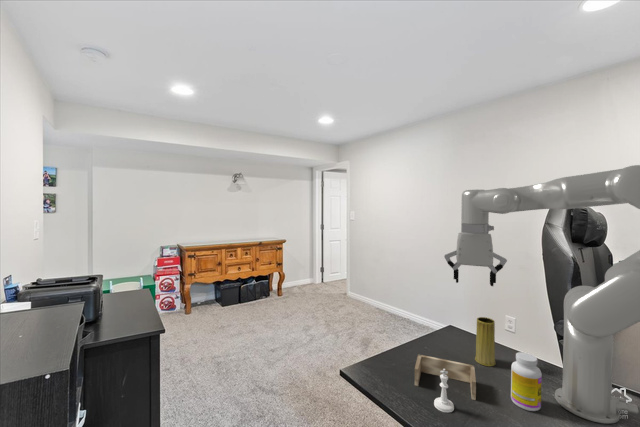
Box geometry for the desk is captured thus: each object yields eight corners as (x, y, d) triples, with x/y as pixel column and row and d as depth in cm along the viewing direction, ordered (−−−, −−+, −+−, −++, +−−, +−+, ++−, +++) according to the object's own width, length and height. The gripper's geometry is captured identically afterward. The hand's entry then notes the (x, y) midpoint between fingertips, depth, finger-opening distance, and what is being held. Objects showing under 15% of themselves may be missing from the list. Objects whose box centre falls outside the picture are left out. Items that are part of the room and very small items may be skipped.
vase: (495, 360, 100) (496, 318, 100) (495, 368, 95) (495, 325, 94) (475, 355, 103) (476, 315, 103) (474, 363, 98) (474, 321, 98)
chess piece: (456, 413, 75) (456, 375, 75) (435, 411, 76) (436, 373, 76) (451, 400, 80) (451, 364, 80) (432, 398, 81) (432, 363, 80)
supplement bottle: (542, 416, 74) (543, 366, 74) (511, 406, 78) (511, 358, 77) (539, 400, 80) (540, 354, 79) (510, 392, 83) (511, 348, 83)
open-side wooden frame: (473, 381, 88) (474, 365, 88) (475, 400, 80) (475, 382, 80) (418, 369, 95) (418, 354, 95) (414, 385, 87) (414, 368, 87)
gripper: (505, 229, 92) (504, 283, 92) (445, 227, 99) (444, 277, 100) (509, 231, 85) (508, 290, 85) (444, 229, 92) (443, 283, 93)
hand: (474, 283), depth 93 cm, fingers open, 9 cm apart
